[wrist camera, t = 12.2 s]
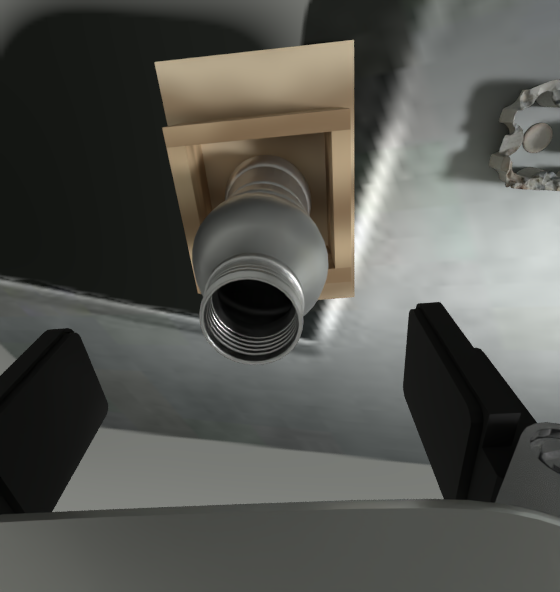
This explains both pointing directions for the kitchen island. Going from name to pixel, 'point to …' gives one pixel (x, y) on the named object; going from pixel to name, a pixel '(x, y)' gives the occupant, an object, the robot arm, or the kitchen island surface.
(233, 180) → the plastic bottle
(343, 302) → the kitchen island surface
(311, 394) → the kitchen island surface
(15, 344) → the kitchen island surface
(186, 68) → the tan wooden box
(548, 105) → the grey rocky tray
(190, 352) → the kitchen island surface
